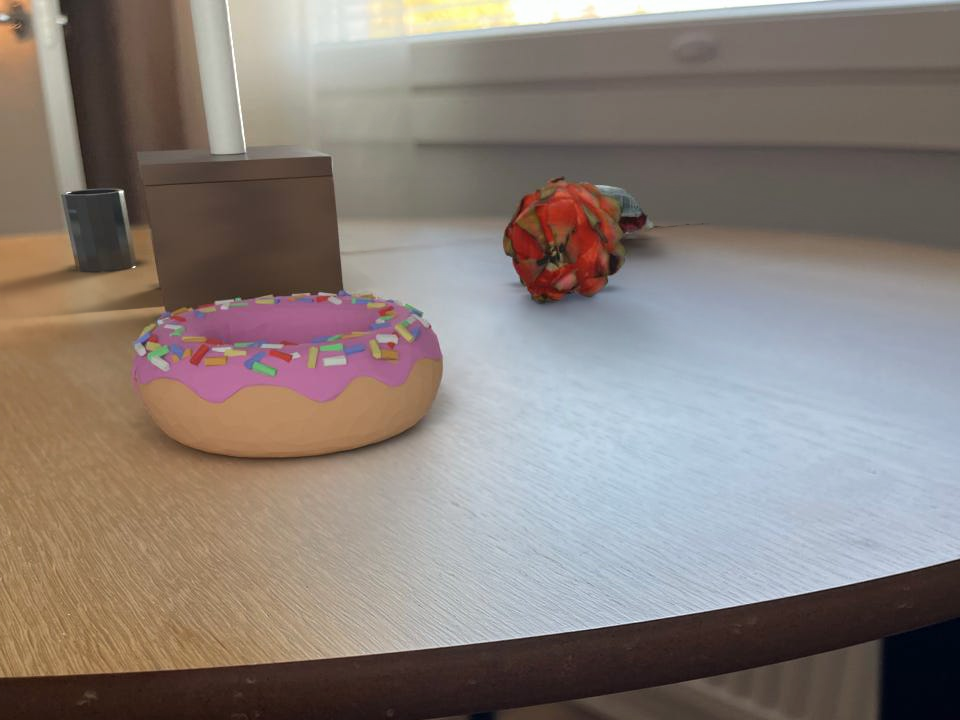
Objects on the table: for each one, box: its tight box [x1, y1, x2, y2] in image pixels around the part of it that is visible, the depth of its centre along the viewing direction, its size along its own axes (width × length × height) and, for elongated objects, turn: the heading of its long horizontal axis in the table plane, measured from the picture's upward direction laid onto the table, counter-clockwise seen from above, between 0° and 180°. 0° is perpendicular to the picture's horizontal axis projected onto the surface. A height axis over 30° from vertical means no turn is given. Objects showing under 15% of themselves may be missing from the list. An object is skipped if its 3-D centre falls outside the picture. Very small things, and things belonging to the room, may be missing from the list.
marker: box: [189, 0, 247, 155], centre depth 68 cm, size 3×3×14 cm
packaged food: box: [594, 184, 654, 241], centre depth 97 cm, size 9×12×5 cm
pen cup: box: [60, 188, 138, 273], centre depth 88 cm, size 5×5×6 cm
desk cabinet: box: [136, 144, 344, 313], centre depth 73 cm, size 12×14×10 cm
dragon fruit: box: [502, 175, 629, 304], centre depth 73 cm, size 8×8×12 cm
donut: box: [131, 290, 444, 459], centre depth 48 cm, size 14×14×5 cm
